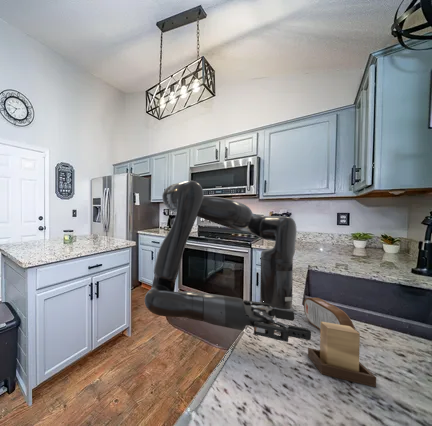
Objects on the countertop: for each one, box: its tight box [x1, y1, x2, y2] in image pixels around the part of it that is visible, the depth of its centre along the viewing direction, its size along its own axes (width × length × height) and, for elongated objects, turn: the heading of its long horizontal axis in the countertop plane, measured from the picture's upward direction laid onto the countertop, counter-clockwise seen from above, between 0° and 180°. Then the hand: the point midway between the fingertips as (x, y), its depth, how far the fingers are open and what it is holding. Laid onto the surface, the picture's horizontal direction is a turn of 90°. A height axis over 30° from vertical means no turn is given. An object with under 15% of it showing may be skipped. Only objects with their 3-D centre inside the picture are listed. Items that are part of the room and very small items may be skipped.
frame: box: [307, 347, 377, 388], centre depth 45 cm, size 6×8×2 cm
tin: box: [303, 297, 356, 330], centre depth 60 cm, size 15×3×8 cm, turn 168°
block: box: [319, 322, 361, 372], centre depth 45 cm, size 3×5×9 cm, turn 67°
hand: (301, 324), depth 48 cm, fingers open, 8 cm apart
